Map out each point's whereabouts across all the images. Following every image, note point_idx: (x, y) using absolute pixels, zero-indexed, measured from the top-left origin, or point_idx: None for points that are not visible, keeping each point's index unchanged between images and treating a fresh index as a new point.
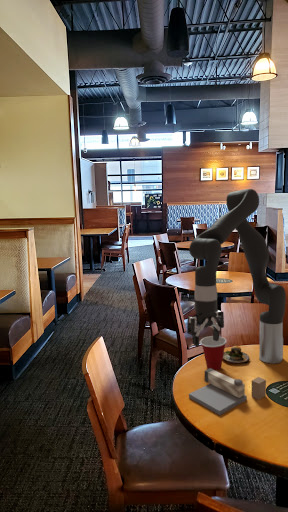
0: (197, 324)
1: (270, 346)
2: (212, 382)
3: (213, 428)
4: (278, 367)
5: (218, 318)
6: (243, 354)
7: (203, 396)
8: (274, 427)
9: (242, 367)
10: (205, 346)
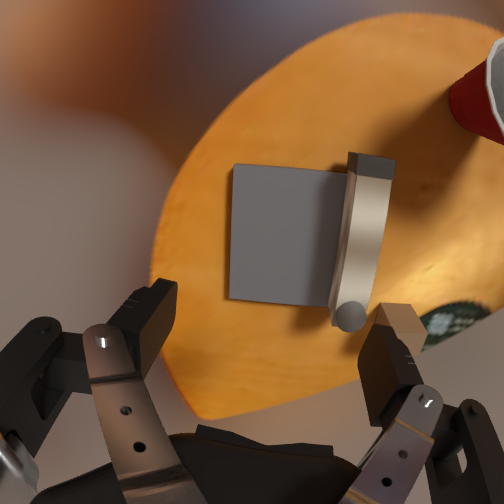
0: (134, 431)
1: None
2: (347, 193)
3: (177, 308)
4: None
5: (461, 497)
6: None
7: (258, 214)
8: (285, 390)
9: None
10: (485, 85)
